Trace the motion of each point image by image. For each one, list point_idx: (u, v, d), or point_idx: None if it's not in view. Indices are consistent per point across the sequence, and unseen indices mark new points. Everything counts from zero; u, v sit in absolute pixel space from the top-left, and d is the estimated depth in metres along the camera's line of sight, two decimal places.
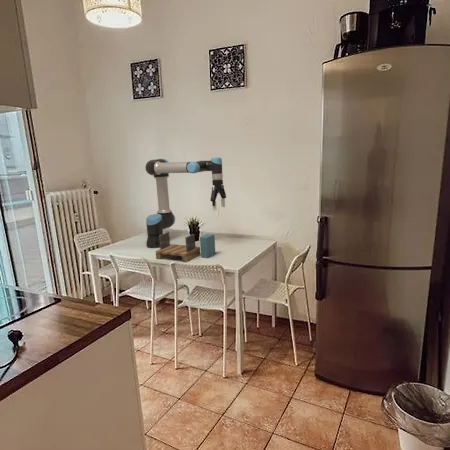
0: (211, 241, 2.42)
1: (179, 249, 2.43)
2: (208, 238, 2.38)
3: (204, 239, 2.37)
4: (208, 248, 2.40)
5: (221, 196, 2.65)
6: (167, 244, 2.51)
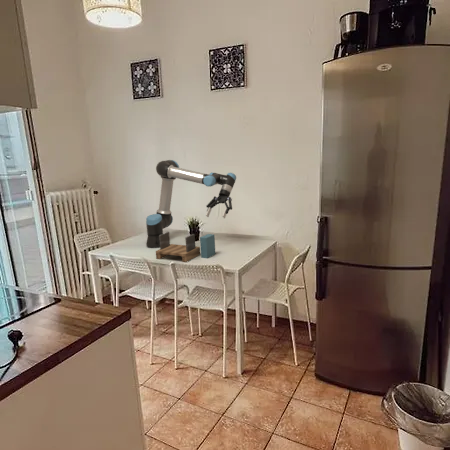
0: (211, 241, 2.42)
1: (179, 249, 2.43)
2: (208, 238, 2.38)
3: (204, 239, 2.37)
4: (208, 248, 2.40)
5: (211, 206, 2.54)
6: (167, 244, 2.51)
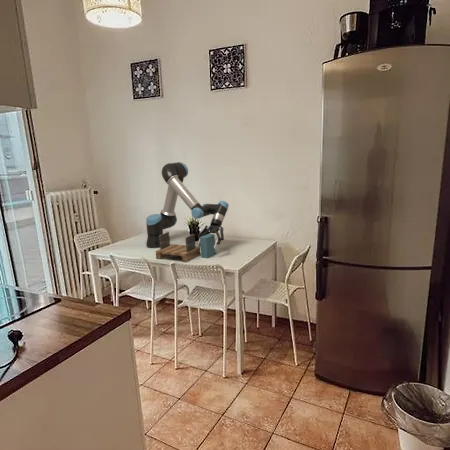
0: (211, 241, 2.42)
1: (179, 249, 2.43)
2: (208, 238, 2.38)
3: (204, 239, 2.37)
4: (208, 248, 2.40)
5: None
6: (167, 244, 2.51)
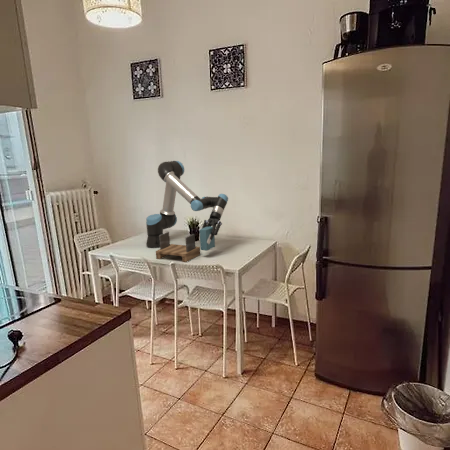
0: None
1: (179, 249, 2.43)
2: (208, 230, 2.37)
3: (204, 231, 2.36)
4: None
5: None
6: (167, 244, 2.51)
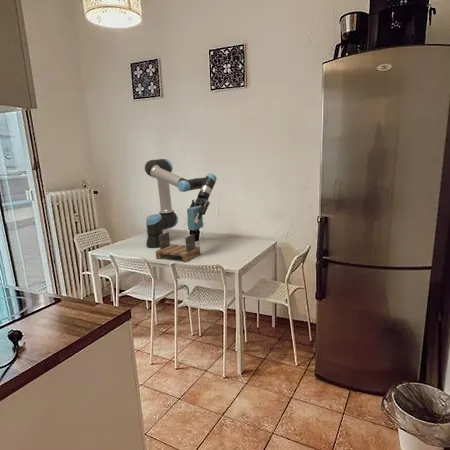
0: None
1: (179, 249, 2.43)
2: (195, 209, 2.34)
3: (191, 210, 2.32)
4: None
5: None
6: (167, 244, 2.51)
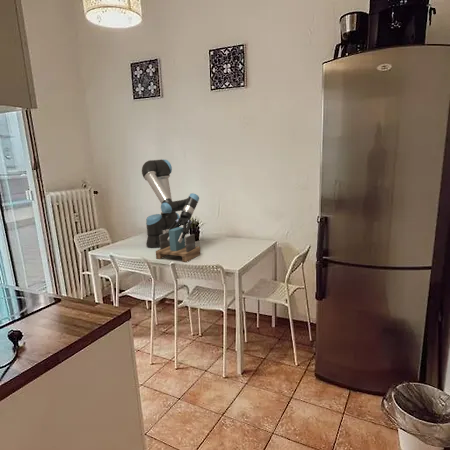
0: (180, 234, 2.42)
1: None
2: (177, 231, 2.39)
3: (173, 232, 2.37)
4: (177, 240, 2.40)
5: None
6: (167, 244, 2.51)
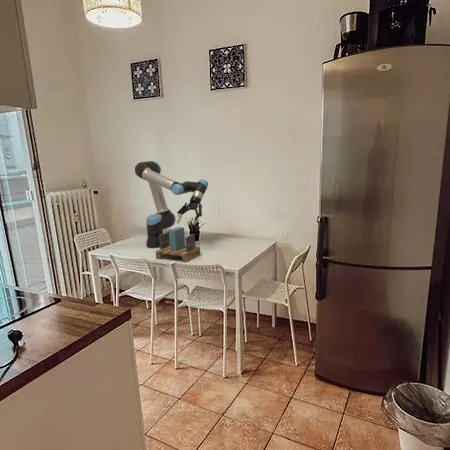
0: (180, 234, 2.42)
1: None
2: (177, 231, 2.39)
3: (173, 232, 2.37)
4: (177, 240, 2.40)
5: (182, 212, 2.55)
6: (167, 244, 2.51)
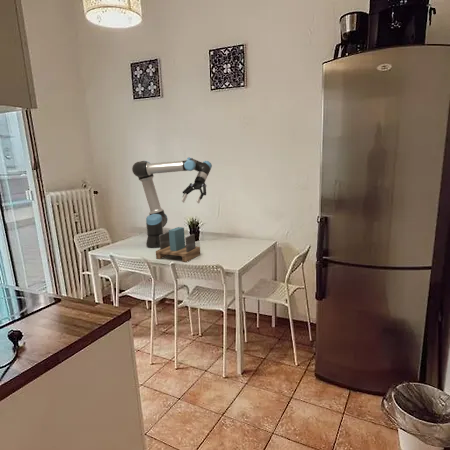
0: (180, 234, 2.42)
1: None
2: (177, 231, 2.39)
3: (173, 232, 2.37)
4: (177, 240, 2.40)
5: (187, 192, 2.68)
6: (167, 244, 2.51)
